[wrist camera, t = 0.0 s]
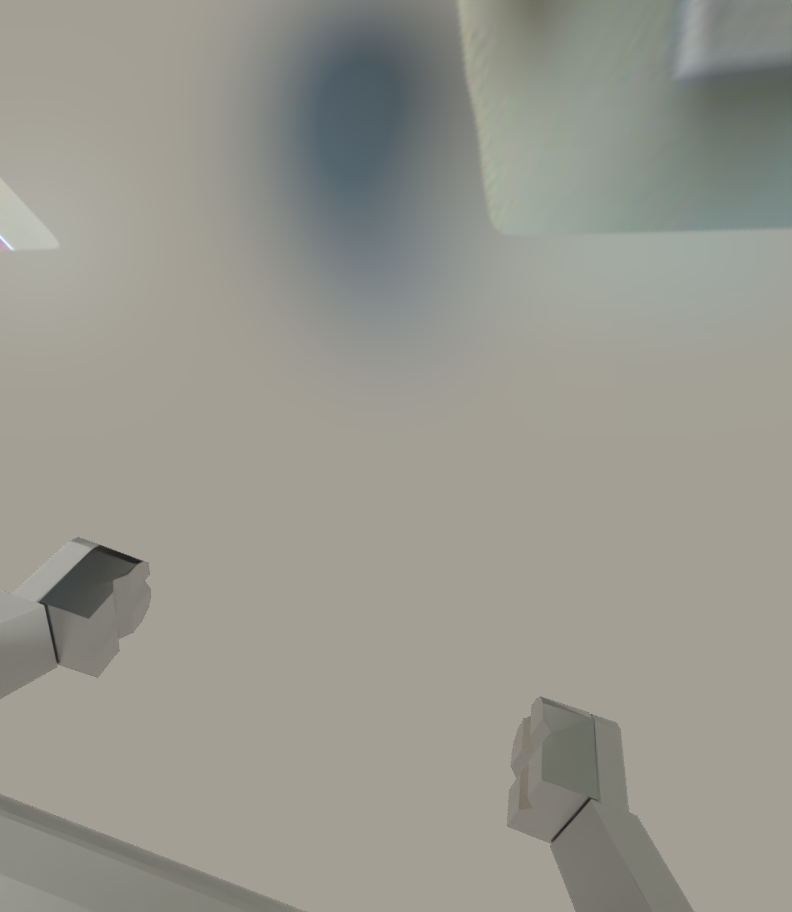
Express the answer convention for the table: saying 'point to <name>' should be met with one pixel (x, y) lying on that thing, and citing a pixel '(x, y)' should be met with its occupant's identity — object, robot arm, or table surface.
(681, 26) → the table surface
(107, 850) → the robot arm
